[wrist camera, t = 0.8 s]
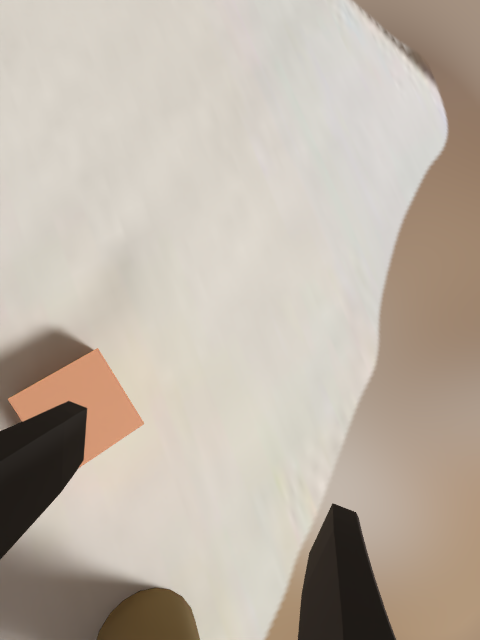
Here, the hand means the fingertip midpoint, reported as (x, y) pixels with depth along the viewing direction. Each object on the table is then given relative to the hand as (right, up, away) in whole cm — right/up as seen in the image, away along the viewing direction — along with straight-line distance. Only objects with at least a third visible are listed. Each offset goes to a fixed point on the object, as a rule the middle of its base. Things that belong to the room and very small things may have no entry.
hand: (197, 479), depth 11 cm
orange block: (-9, -1, +13) cm, 16 cm away
